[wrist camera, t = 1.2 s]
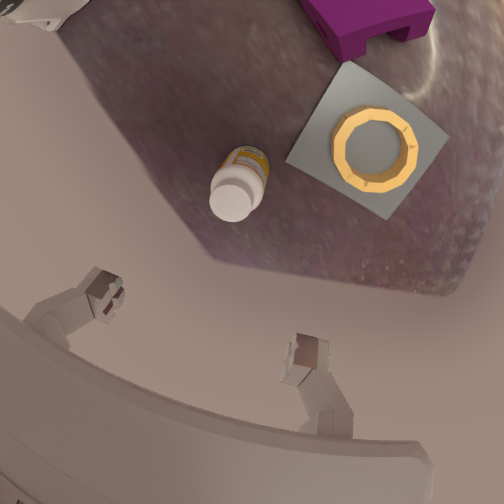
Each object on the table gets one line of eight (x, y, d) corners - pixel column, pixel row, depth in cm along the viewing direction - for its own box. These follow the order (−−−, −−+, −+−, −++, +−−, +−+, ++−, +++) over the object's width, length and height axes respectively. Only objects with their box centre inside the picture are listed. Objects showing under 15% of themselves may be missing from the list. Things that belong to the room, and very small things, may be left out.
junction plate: (285, 158, 32) (283, 169, 29) (344, 58, 23) (349, 57, 20) (384, 216, 34) (390, 231, 31) (446, 134, 25) (459, 143, 23)
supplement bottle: (235, 190, 35) (215, 234, 28) (219, 153, 33) (192, 187, 25) (276, 179, 34) (267, 222, 26) (261, 139, 31) (246, 170, 23)
